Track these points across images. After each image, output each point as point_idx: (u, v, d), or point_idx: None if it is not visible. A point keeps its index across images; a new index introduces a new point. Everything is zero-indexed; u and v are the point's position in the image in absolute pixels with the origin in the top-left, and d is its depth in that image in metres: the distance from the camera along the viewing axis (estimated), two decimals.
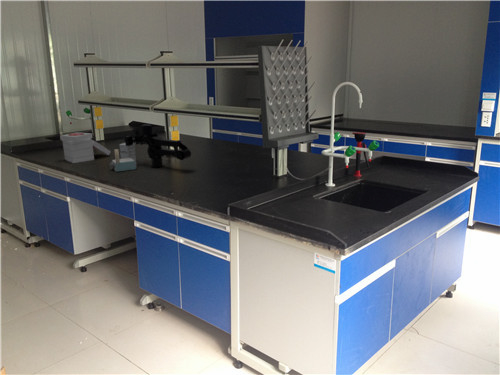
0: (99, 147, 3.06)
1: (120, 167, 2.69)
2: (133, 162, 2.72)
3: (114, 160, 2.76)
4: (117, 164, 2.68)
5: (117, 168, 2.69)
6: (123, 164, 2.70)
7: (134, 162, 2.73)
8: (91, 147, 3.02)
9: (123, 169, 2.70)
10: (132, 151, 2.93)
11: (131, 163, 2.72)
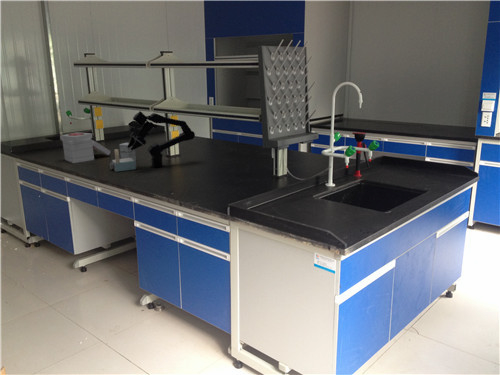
0: (99, 147, 3.06)
1: (120, 167, 2.69)
2: (133, 162, 2.72)
3: (114, 160, 2.76)
4: (117, 164, 2.68)
5: (117, 168, 2.69)
6: (123, 164, 2.70)
7: (134, 162, 2.73)
8: (91, 147, 3.02)
9: (123, 169, 2.70)
10: (132, 151, 2.93)
11: (131, 163, 2.72)
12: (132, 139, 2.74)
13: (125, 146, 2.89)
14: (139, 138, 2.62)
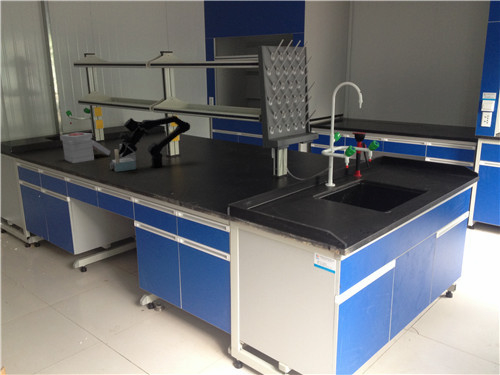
0: (99, 147, 3.06)
1: (120, 167, 2.69)
2: (133, 162, 2.72)
3: (114, 160, 2.76)
4: (117, 164, 2.68)
5: (117, 168, 2.69)
6: (123, 164, 2.70)
7: (134, 162, 2.73)
8: (91, 147, 3.02)
9: (123, 169, 2.70)
10: None
11: (131, 163, 2.72)
12: (123, 146, 2.73)
13: None
14: (130, 145, 2.60)
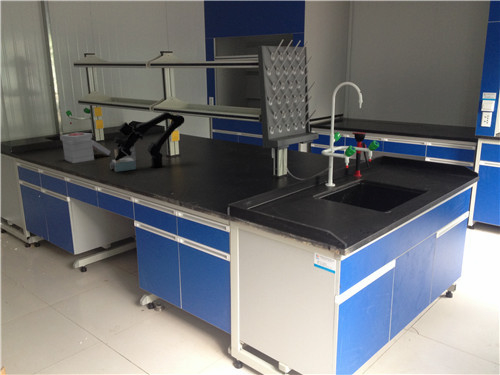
0: (99, 147, 3.06)
1: (120, 167, 2.69)
2: (133, 162, 2.72)
3: (114, 160, 2.76)
4: (117, 164, 2.68)
5: (117, 168, 2.69)
6: (123, 164, 2.70)
7: (134, 162, 2.73)
8: (91, 147, 3.02)
9: (123, 169, 2.70)
10: (132, 151, 2.93)
11: (131, 163, 2.72)
12: None
13: None
14: (124, 149, 2.59)
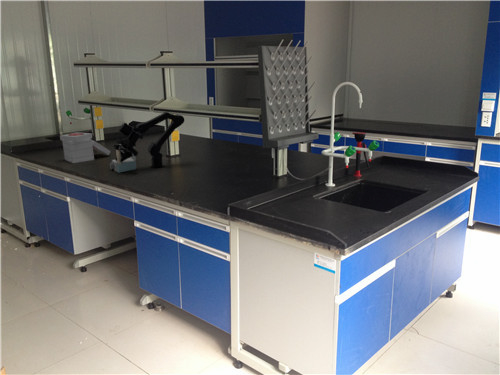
0: (99, 147, 3.06)
1: (122, 168, 2.67)
2: (134, 162, 2.72)
3: (114, 160, 2.76)
4: (119, 165, 2.66)
5: (119, 169, 2.66)
6: (125, 165, 2.68)
7: (134, 162, 2.73)
8: (91, 147, 3.02)
9: (125, 170, 2.69)
10: None
11: (132, 163, 2.71)
12: None
13: None
14: (132, 150, 2.59)
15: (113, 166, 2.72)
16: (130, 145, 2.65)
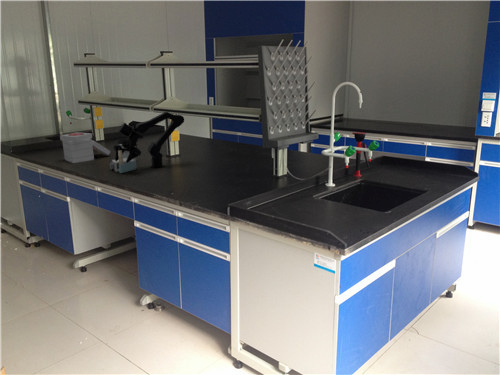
0: (99, 147, 3.06)
1: (124, 168, 2.66)
2: (134, 162, 2.72)
3: (114, 160, 2.76)
4: (121, 165, 2.64)
5: (121, 169, 2.65)
6: (126, 165, 2.67)
7: (135, 162, 2.73)
8: (91, 147, 3.02)
9: (126, 170, 2.68)
10: None
11: (132, 163, 2.71)
12: None
13: None
14: (136, 149, 2.60)
15: (113, 166, 2.72)
16: (132, 145, 2.65)
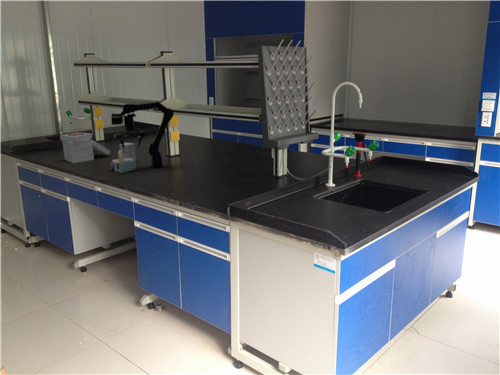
0: (99, 147, 3.06)
1: (124, 168, 2.66)
2: (134, 162, 2.72)
3: (114, 160, 2.76)
4: (121, 165, 2.64)
5: (121, 169, 2.65)
6: (126, 165, 2.67)
7: (135, 162, 2.73)
8: (91, 147, 3.02)
9: (126, 170, 2.68)
10: (132, 151, 2.93)
11: (132, 163, 2.71)
12: None
13: (125, 146, 2.89)
14: (145, 134, 2.74)
15: (113, 166, 2.72)
16: None
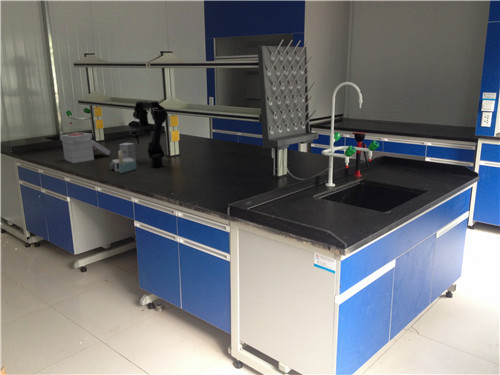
0: (99, 147, 3.06)
1: (124, 168, 2.66)
2: (134, 162, 2.72)
3: (114, 160, 2.76)
4: (121, 165, 2.64)
5: (121, 169, 2.65)
6: (126, 165, 2.67)
7: (135, 162, 2.73)
8: (91, 147, 3.02)
9: (126, 170, 2.68)
10: (132, 151, 2.93)
11: (132, 163, 2.71)
12: None
13: (125, 146, 2.89)
14: None
15: (113, 166, 2.72)
16: None
